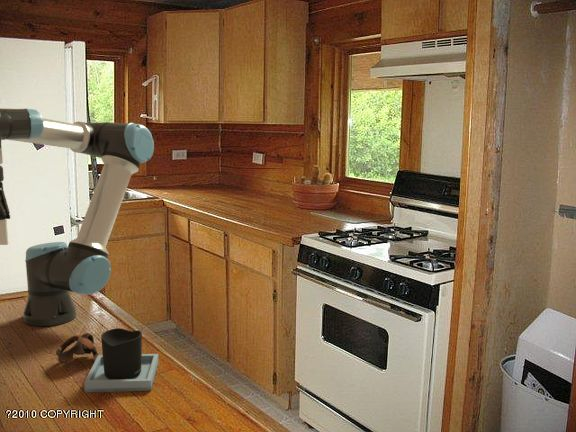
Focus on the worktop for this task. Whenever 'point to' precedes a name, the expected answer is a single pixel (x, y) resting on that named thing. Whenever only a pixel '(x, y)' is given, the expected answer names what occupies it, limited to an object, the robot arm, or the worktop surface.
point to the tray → (142, 382)
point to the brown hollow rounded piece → (77, 348)
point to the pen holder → (122, 353)
